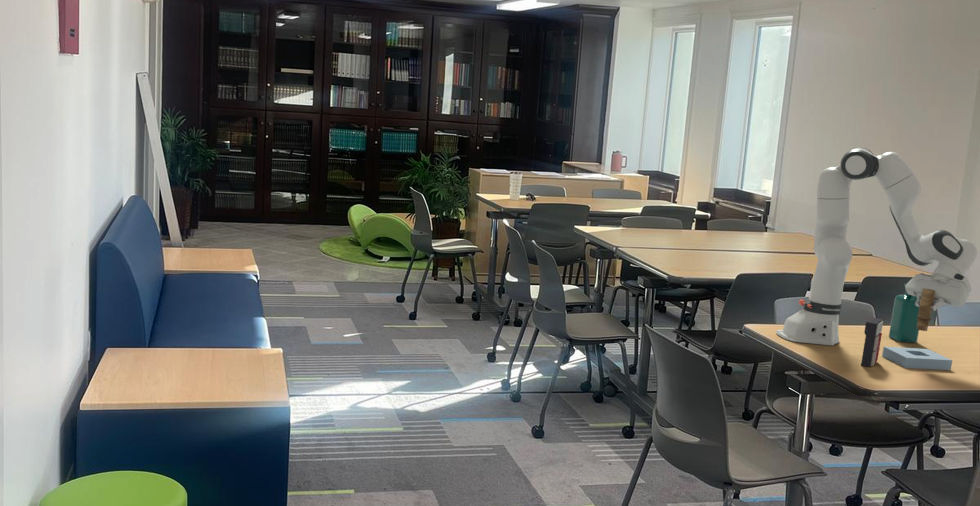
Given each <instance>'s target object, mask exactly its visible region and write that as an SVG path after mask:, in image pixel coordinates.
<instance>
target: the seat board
mask: <svg viewBox="0 0 980 506" xmlns="http://www.w3.org/2000/svg"><path fill="white" fill-rule="evenodd" d="M881 357H883V358H885V359H887V360H889V361H891V362H893V363H895V364H897V365H898V364H899V365H898V366H901V367H902V368H906V369H920V370H921V369H922V370H923V369H924V370H940V371H951V370H952V364H953V360H952V359H951V358H950V357H949V358H948V357H946V356H944V355H942V354H940V353H937V352H935V351H933V350H931V349H929V348H917V347H914V348H913V347H898V346H883V349H882V355H881Z"/></svg>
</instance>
